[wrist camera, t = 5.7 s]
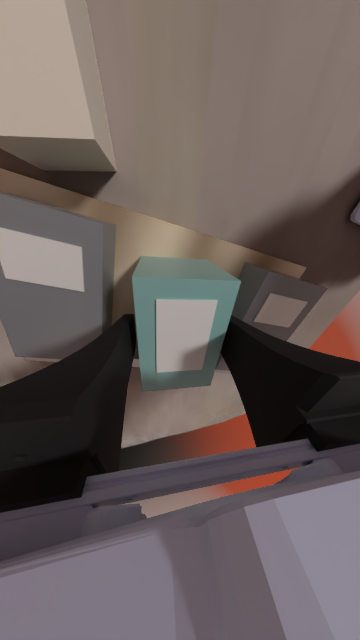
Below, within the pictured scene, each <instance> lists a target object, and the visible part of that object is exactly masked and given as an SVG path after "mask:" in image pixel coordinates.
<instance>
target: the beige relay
mask: <svg viewBox="0 0 360 640" xmlns="http://www.w3.org/2000/svg"><path fill="white" fill-rule="evenodd" d="M0 149H2V150H4V151H6V152H8V153H10V154H12V155H14V156H16V157H18V158H20V159H22V160H24V161H26V162H28V163H30V164H32V165H34V166H36V167H37V168H39V169H41V170H43V171H104V172H117V170H116V165H115V159H114V154H113V148H112V143H111V137H110V132H109V126H108V121H107V115H106V109H105V104H104V98H103V93H102V87H101V82H100V76H99V71H98V65H97V60H96V54H95V49H94V43H93V38H92V32H91V27H90V21H89V16H88V10H87V5H86V0H0Z"/></svg>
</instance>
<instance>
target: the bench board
mask: <svg viewBox="0 0 360 640" xmlns="http://www.w3.org/2000/svg"><path fill="white" fill-rule="evenodd" d="M0 191H2V192H6V193H11V194H14V195H17V196H21V197H24V198H28V199H31V200H34V201H38V202H41V203H45V204H48V205H51V206H55V207H58V208H62V209H65V210H69V211H72V212H75V213H79V214H82V215H86V216H89V217H92V218H96V219H99V220H103V221H106V222H109V223H113V224H116V240H115V263H114V285H113V307H112V325H113V324H114V323H115V322H116V321H117V320H118V319H120V318H121V317H122V316H123V315H124V314H134V320H135V329H136V341H138V340H137V328H136V317H135V306H134V295H133V284H132V276H133V273H134V271H135V269H136V267H137V265H138V262H139V260H140V258H141V256H153V257H169V258H186V259H203V260H208V261H210V262H211V263H213V264H215V265H216V266H218V267H219V268H221V269H223V270H224V271H226V272H227V273H229V274H231V275H232V276H234V277H236V278H237V279H238V278H239V275H240V273H241V271H242V269H243V267H244V265H245V262H246V263H249V264H253V265H256V266H259V267H263V268H266V269H270V270H273V271H276V272H280V273H283V274H287V275H290V276H293V277H297V278H299V279H300V277H301V276H302V274H303V273H304V271H305V270H306V268H307V267H304V266H301V265H298V264H295V263H291V262H288V261H285V260H282V259H279V258H276V257H273V256H270V255H267V254H264V253H261V252H258V251H254V250H251V249H248V248H245V247H242V246H239V245H236V244H233V243H230V242H227V241H224V240H221V239H217V238H214V237H211V236H208V235H205V234H202V233H199V232H196V231H193V230H190V229H187V228H184V227H180V226H177V225H174V224H171V223H168V222H165V221H162V220H159V219H156V218H153V217H150V216H147V215H143V214H140V213H137V212H134V211H131V210H128V209H125V208H122V207H119V206H116V205H113V204H110V203H106V202H103V201H100V200H97V199H94V198H91V197H88V196H85V195H82V194H79V193H76V192H73V191H69V190H66V189H63V188H60V187H57V186H54V185H51V184H48V183H45V182H42V181H39V180H36V179H32V178H29V177H26V176H23V175H20V174H17V173H14V172H11V171H8V170H5V169H2V168H0Z"/></svg>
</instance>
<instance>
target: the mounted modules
mask: <svg viewBox="0 0 360 640" xmlns="http://www.w3.org/2000/svg"><path fill="white" fill-rule="evenodd" d="M115 240H116V224H113V223H109V222H106V221H103V220H99V219H96V218H92V217H89V216H86V215H82V214H79V213H75V212H72V211H69V210H65V209H62V208H58V207H55V206H51V205H48V204H45V203H41V202H38V201H34V200H31V199H28V198H24V197H21V196H17V195H14V194H11V193H6V192H2V191H0V318H1V321H2V323H3V326H4V328H5V331H6V334H7V336H8V339H9V342H10V344H11V347H12V349H13V352H14V355H15V356H17V357H32V358H47V359H64V358H65V357H67V356H69V355H71V354H73V353H74V352H76V351H78V350H80V349H81V348H83V347H84V346H86V345H87V344H89V343H90V342H92V341H93V340H95V339H96V338H97V337H99V336H100V335H101V334H102V333H104V332H105V331H106V330H107V329H109V328H110V327H111V326H112V307H113V285H114V263H115ZM238 279H239V280H240V281H241V284H240V287H239V290H238V294H237V297H236V300H235V304H234V307H233V311H232V314H231V315H232V316H234V317H236V318H238V319H240V320H242V321H244V322H245V323H247V324H249V325H251V326H253V327H255V328H257V329H259V330H261V331H263V332H265V333H267V334H269V335H271V336H274V337H276V338H279V339H281V340H284V341H287V340H288V338H289V337H290V336H291V335H292V333H293V332H294V331H295V330H296V328H297V327H298V326H299V324H300V323H301V322H302V321H303V319H304V318H305V317H306V316H307V314H308V313H309V312H310V310H311V309H312V308H313V307H314V305H315V304H316V303H317V301H318V300H319V299H320V298H321V296H322V295H323V294H324V293H325V291H326V290H327V289H328V288H325V287H322V286H319V285H316V284H314V283H311V282H308V281H305V280H302V279H299V278H297V277H293V276H290V275H287V274H283V273H280V272H276V271H273V270H270V269H266V268H263V267H259V266H256V265H253V264H249V263H246V262H245V265H244V267H243V269H242V271H241V273H240V275H239V278H238ZM215 370H226V371H230V370H229V368H228V367H227V365H226V363H225V361H224V359H223V357H222V355H221V353H220V354H219V358H218V361H217V364H216V368H215Z"/></svg>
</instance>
